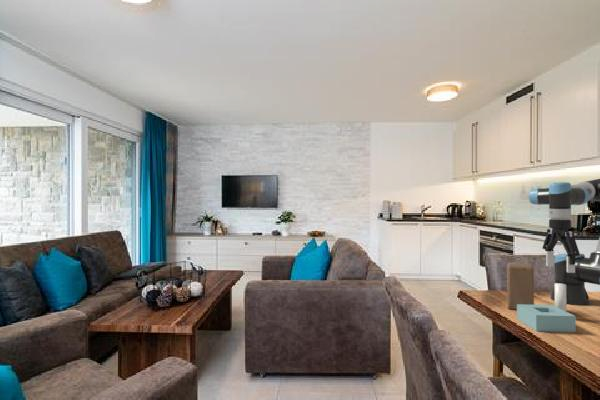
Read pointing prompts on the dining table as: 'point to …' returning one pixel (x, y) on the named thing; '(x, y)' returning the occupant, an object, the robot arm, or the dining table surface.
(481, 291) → the dining table surface
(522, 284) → the wooden block
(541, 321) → the socket
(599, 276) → the robot arm
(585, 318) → the dining table surface
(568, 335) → the dining table surface
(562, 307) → the peg
